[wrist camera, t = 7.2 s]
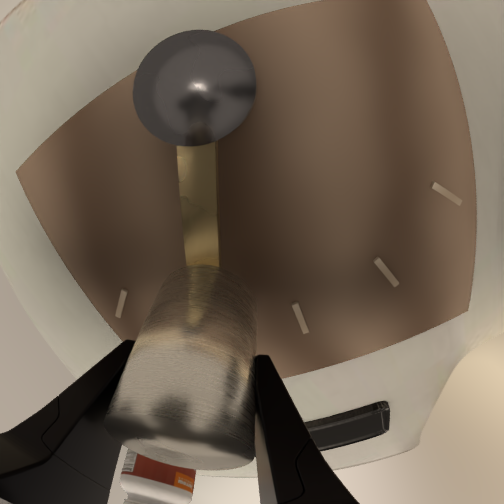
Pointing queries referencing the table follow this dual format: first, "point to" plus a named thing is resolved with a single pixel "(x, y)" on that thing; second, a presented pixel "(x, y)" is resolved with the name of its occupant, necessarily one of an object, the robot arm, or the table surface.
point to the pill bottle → (155, 481)
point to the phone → (350, 426)
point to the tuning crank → (193, 273)
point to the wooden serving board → (289, 187)
